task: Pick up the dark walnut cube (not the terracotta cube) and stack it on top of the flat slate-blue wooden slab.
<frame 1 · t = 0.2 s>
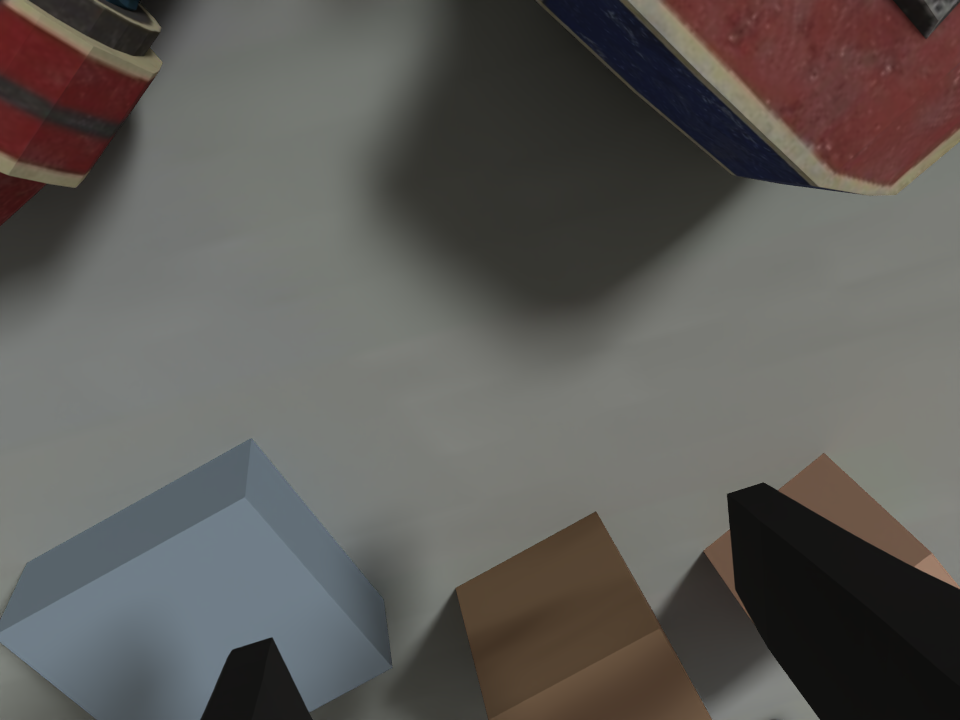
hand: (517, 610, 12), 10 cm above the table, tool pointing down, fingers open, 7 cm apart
walnut block: (556, 597, 26), on the table
terracotta block: (797, 539, 27), on the table
blue slab: (218, 574, 23), on the table
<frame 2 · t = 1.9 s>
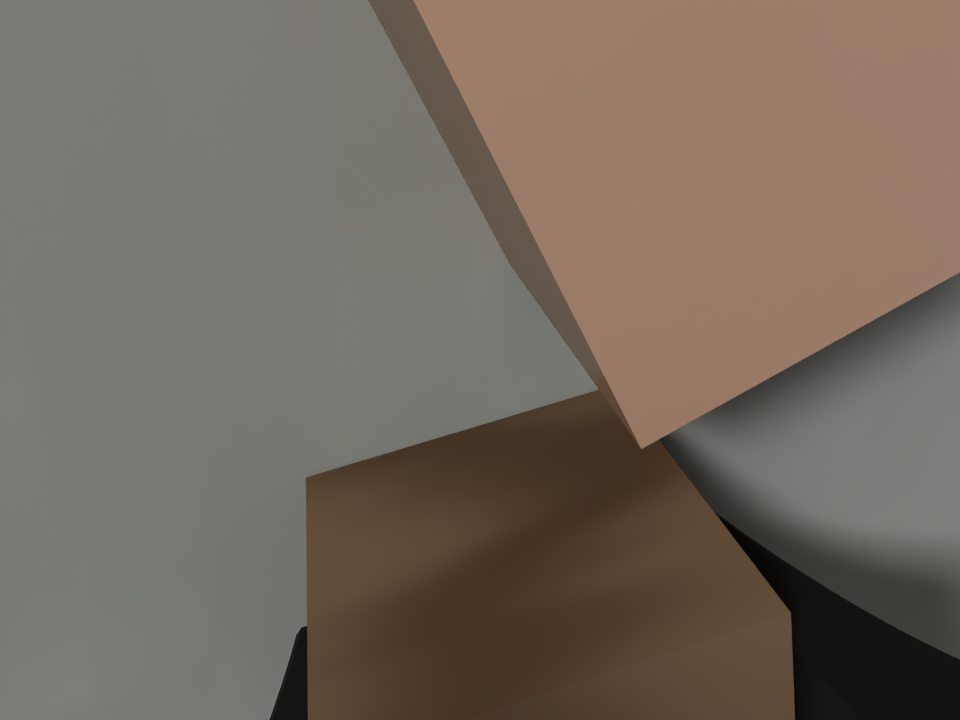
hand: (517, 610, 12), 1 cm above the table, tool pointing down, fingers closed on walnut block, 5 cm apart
walnut block: (496, 551, 13), on the table, touching gripper
terracotta block: (594, 0, 10), on the table
when the fingers open (6 cm above the table, at t = 4.5 s): walnut block stays where it is, resting on blue slab.
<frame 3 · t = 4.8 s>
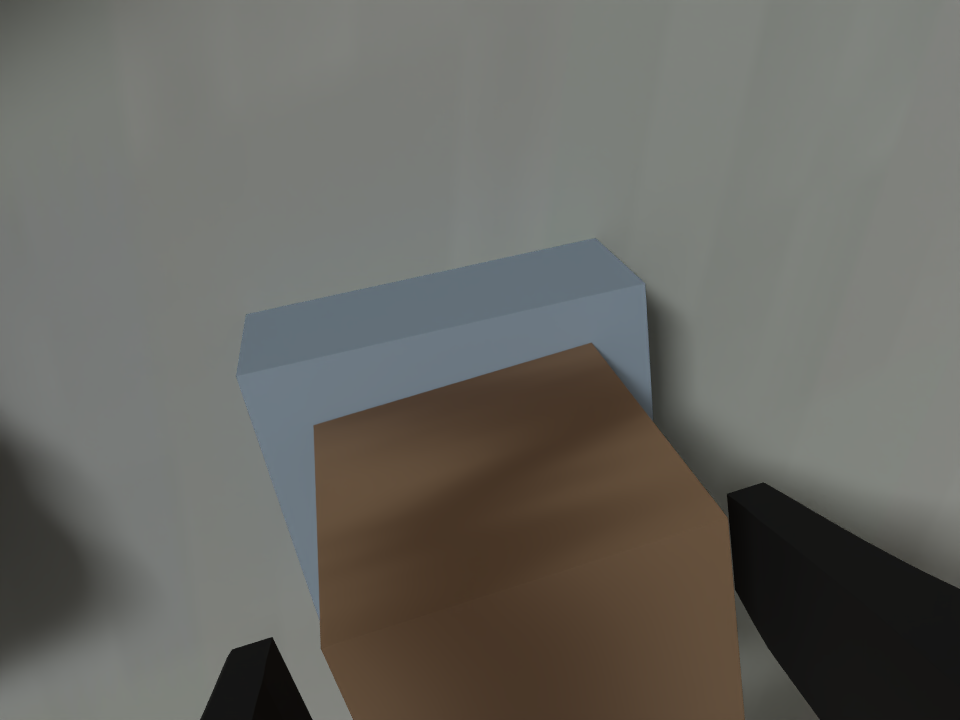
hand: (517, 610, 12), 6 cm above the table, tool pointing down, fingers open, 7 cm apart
walnut block: (484, 495, 15), point 3 cm above the table, touching blue slab
blue slab: (451, 415, 17), on the table, touching walnut block
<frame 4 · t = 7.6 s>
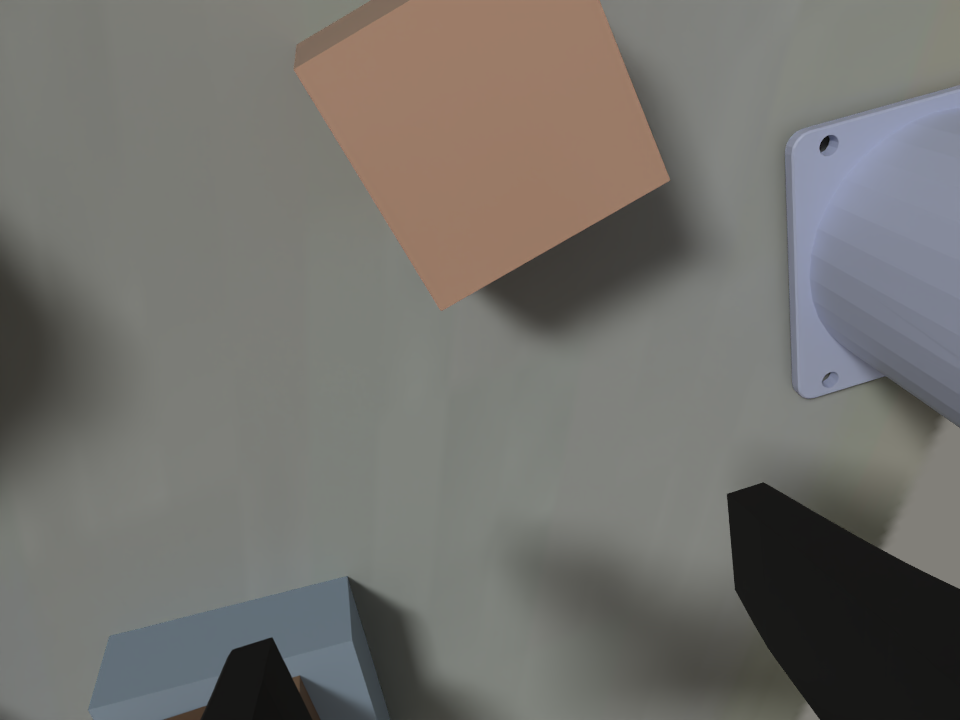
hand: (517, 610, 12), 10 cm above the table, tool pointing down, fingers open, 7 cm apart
terracotta block: (450, 91, 18), on the table
blue slab: (263, 676, 25), on the table
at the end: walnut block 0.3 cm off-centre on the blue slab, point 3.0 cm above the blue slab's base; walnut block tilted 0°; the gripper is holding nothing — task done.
